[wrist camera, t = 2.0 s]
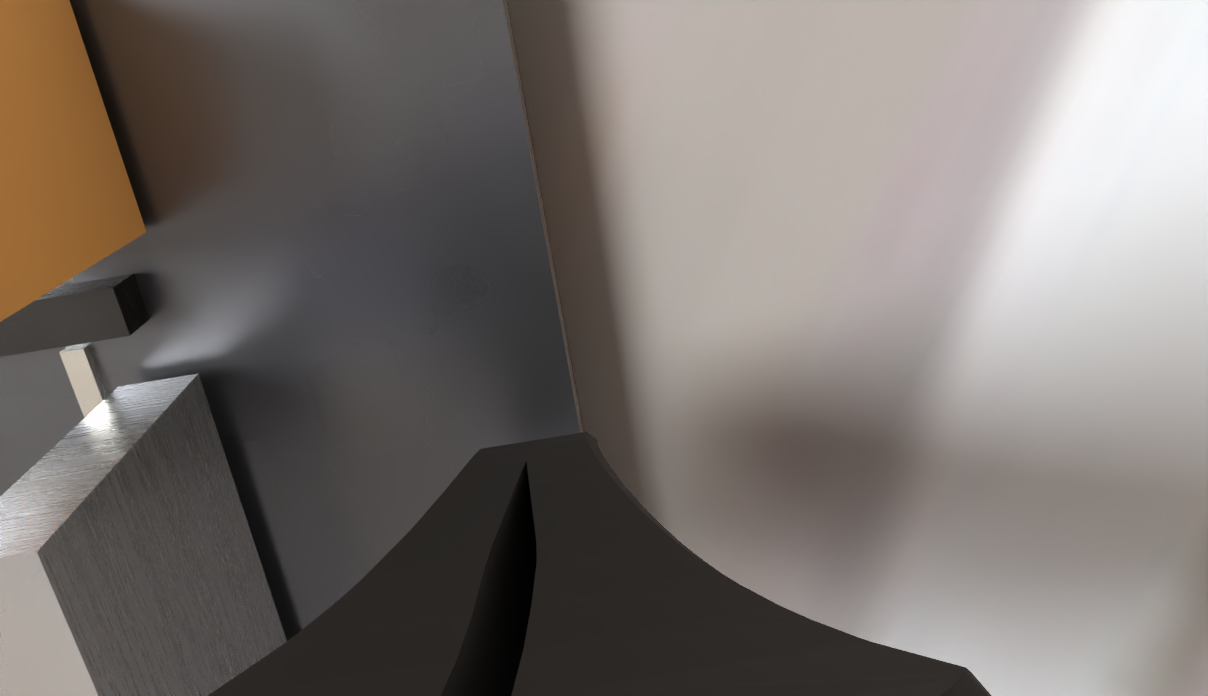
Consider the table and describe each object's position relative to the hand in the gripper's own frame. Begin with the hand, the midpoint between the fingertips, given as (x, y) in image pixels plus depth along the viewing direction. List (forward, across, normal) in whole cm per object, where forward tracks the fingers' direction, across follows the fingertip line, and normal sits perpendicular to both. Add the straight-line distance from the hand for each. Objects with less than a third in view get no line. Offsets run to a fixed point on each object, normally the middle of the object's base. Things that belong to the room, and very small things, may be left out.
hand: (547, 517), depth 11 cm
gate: (+2, +5, +2) cm, 5 cm away
